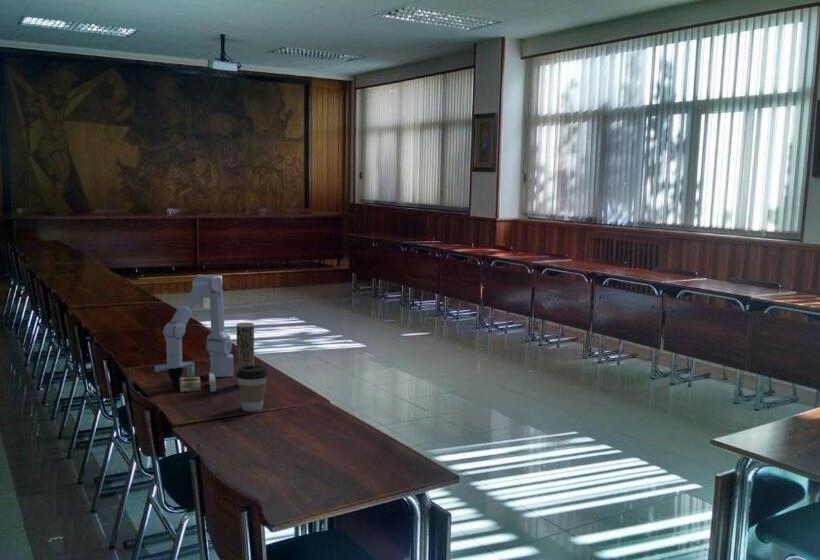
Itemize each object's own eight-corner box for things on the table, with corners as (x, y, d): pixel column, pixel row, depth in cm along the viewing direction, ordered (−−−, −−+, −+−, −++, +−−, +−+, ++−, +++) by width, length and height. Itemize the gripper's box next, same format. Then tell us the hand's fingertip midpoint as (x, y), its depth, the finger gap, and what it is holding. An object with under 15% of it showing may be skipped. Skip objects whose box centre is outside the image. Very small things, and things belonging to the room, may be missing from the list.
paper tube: (256, 383, 303) (256, 323, 300) (251, 387, 297) (250, 326, 293) (240, 382, 304) (239, 322, 301) (234, 386, 297) (234, 325, 294)
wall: (214, 382, 302) (213, 373, 302) (216, 391, 291) (215, 381, 290) (208, 383, 302) (208, 373, 301) (210, 391, 290) (210, 381, 290)
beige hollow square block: (199, 385, 298) (199, 376, 298) (200, 390, 291) (200, 381, 291) (180, 386, 296) (179, 378, 296) (180, 391, 289) (180, 383, 288)
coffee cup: (251, 402, 278) (251, 363, 276) (274, 407, 272) (274, 367, 270) (229, 409, 268) (229, 369, 266) (253, 415, 262) (252, 374, 260)
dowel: (194, 381, 303) (194, 362, 302) (194, 383, 300) (194, 364, 299) (186, 382, 302) (186, 363, 301) (187, 384, 299) (186, 365, 298)
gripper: (189, 349, 297) (190, 382, 299) (152, 353, 289) (153, 387, 291) (195, 352, 291) (195, 386, 293) (157, 356, 283) (158, 391, 285)
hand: (175, 387), depth 292 cm, fingers closed
